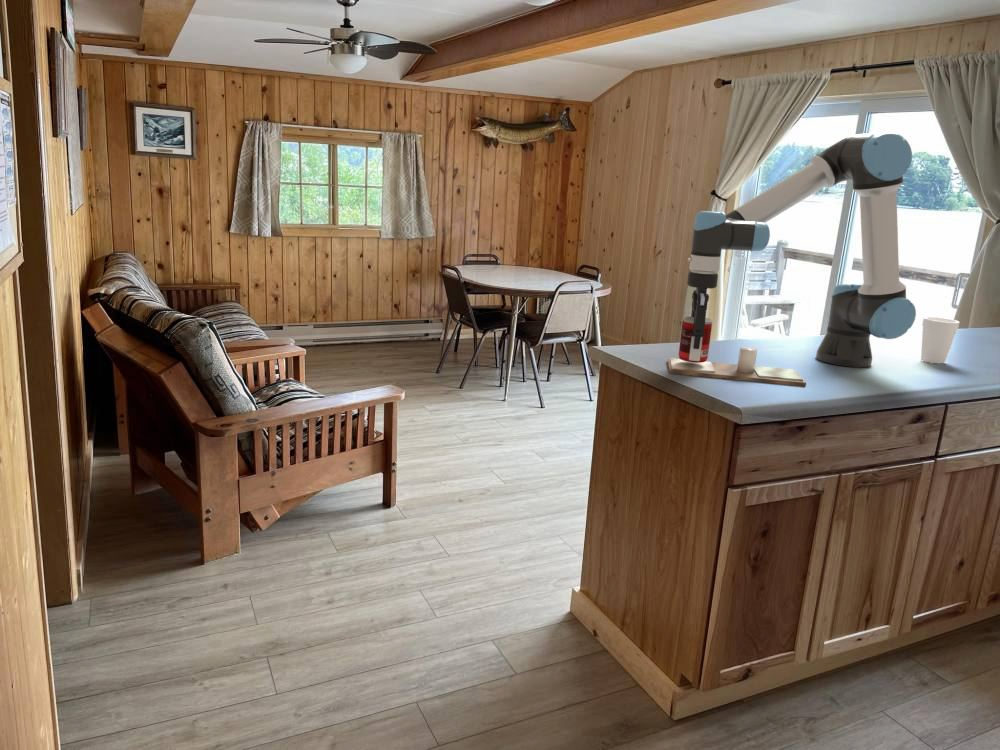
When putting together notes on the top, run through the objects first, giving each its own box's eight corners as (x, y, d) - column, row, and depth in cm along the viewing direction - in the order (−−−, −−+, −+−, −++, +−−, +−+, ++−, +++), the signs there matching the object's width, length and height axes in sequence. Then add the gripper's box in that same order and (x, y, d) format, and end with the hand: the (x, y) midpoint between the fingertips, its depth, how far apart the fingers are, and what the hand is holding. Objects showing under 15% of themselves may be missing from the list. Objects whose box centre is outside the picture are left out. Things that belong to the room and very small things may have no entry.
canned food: (706, 357, 203) (711, 317, 200) (708, 364, 195) (713, 323, 193) (677, 354, 204) (682, 315, 202) (678, 361, 197) (683, 320, 194)
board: (794, 373, 203) (795, 368, 203) (805, 386, 190) (806, 381, 189) (667, 361, 208) (668, 356, 208) (669, 373, 195) (670, 368, 195)
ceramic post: (752, 369, 200) (756, 347, 198) (755, 373, 196) (758, 351, 194) (735, 368, 201) (739, 346, 199) (738, 372, 196) (741, 349, 195)
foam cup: (948, 361, 230) (957, 319, 227) (952, 366, 222) (961, 324, 219) (914, 356, 234) (922, 315, 231) (916, 362, 226) (924, 320, 222)
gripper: (686, 266, 204) (676, 347, 210) (691, 275, 185) (680, 364, 190) (714, 268, 203) (704, 349, 209) (722, 277, 183) (711, 367, 189)
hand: (693, 356), depth 200 cm, fingers closed on canned food, 8 cm apart
